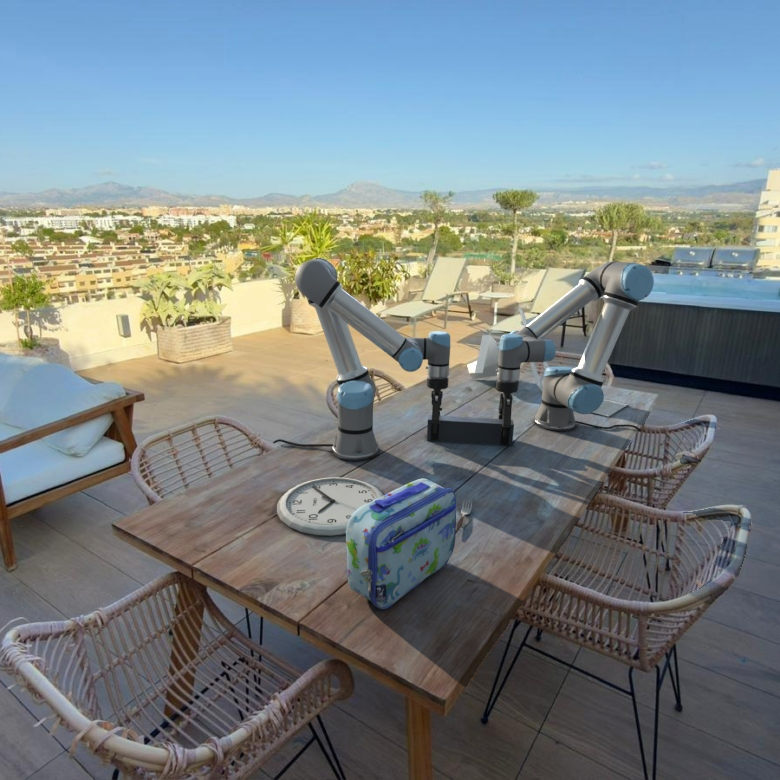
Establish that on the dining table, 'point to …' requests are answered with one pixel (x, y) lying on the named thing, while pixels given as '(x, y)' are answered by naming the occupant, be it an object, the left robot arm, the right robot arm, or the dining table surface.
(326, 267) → the left robot arm
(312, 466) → the dining table surface
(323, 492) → the wall clock
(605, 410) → the invitation card
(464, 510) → the fork
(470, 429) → the beam
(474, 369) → the white plastic object
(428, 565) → the lunch box
